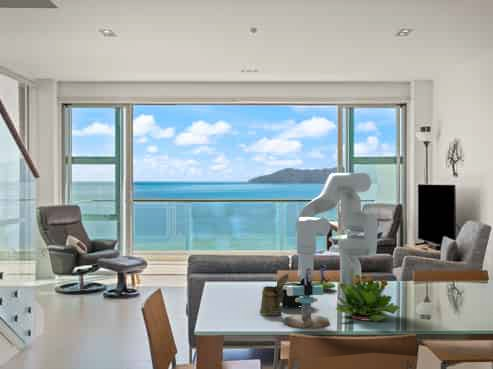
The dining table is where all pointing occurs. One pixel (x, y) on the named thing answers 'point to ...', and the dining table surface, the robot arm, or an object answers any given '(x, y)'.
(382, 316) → the potted flower
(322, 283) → the figurine
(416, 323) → the dining table surface
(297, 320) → the base plate
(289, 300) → the bowl
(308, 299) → the white-capped blue bar
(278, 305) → the wooden mug
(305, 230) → the robot arm
